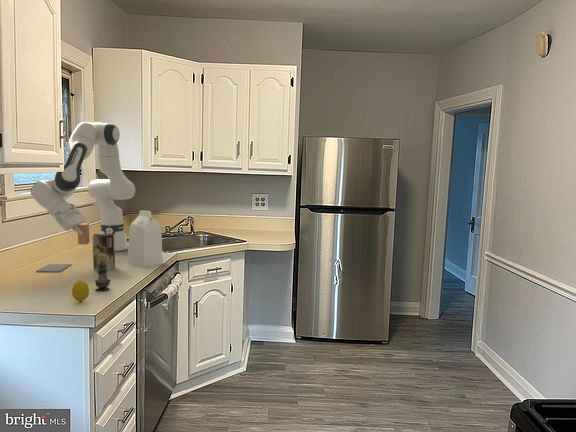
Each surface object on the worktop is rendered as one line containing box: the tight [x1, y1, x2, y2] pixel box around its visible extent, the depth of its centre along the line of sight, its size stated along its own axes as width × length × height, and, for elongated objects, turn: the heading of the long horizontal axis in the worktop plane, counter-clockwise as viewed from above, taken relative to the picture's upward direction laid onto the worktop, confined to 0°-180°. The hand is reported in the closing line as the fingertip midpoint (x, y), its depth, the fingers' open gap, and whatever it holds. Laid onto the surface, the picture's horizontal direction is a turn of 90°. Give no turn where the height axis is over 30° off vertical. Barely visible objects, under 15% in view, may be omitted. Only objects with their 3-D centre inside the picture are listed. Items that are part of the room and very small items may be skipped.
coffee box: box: [92, 233, 116, 272], centre depth 211 cm, size 9×6×16 cm
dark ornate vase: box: [94, 259, 112, 293], centre depth 178 cm, size 6×6×12 cm
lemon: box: [71, 279, 90, 303], centre depth 162 cm, size 6×6×8 cm
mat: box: [35, 263, 72, 273], centre depth 209 cm, size 14×10×1 cm
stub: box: [77, 222, 90, 246], centre depth 209 cm, size 4×4×9 cm
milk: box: [127, 209, 164, 268], centre depth 224 cm, size 12×12×26 cm
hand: (85, 232), depth 209 cm, fingers closed on stub, 4 cm apart
